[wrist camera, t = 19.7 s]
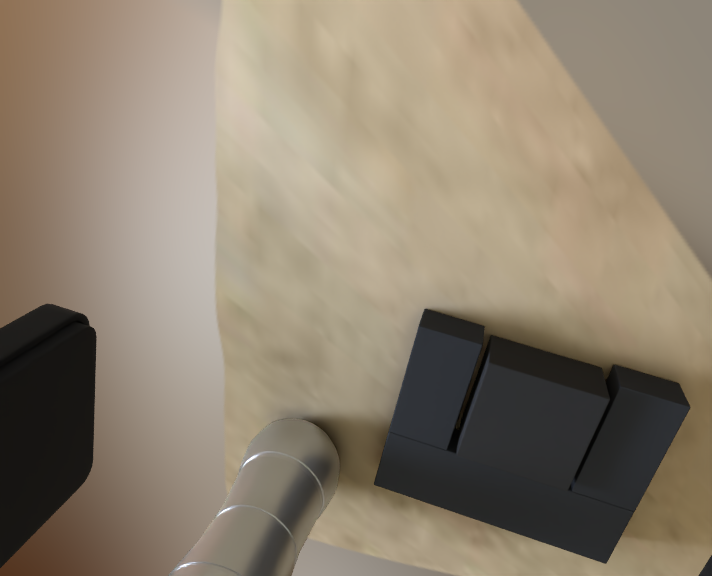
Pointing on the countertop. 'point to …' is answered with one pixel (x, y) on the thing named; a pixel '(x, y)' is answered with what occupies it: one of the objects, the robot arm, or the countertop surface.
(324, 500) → the plastic bottle
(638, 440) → the notched tile
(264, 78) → the countertop surface
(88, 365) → the robot arm
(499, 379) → the black pad
